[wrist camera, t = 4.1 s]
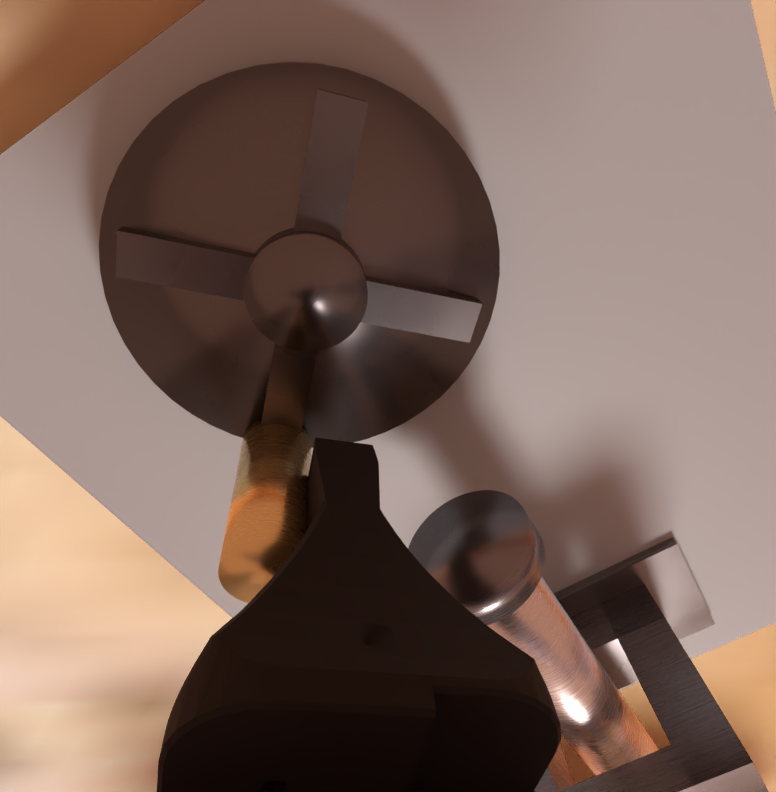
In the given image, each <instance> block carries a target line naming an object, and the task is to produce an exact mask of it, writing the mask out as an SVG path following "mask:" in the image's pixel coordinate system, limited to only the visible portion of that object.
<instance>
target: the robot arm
mask: <svg viewBox="0 0 776 792" xmlns="http://www.w3.org/2000/svg"><path fill="white" fill-rule="evenodd" d="M307 517H308V529H307V531H306V533H305V534H304V536H303V537H302V539H301V540H300V542H299V543H298V545H297V546H296V548H295V549H294V551H293V552H292V553H291V555H290V556H289V557H288V559H287V560H286V561H285V562H284V564H283V565H282V566H281V568H280V569H279V570H278V571H277V573H276V574H275V575H274V576H273V577H272V579H271V580H270V581H269V582H268V583H267V584H266V585H265V586H264V587H263V588H262V589H261V590H260V591H259V593H258V594H257V595H256V596H255V597H254V598H253V599H252V600H251V601H250V602H249V603H248V604H247V605H246V606H245V607H244V608H243V609H242V610H241V611H240V612H239V613H238V614H237V615H235V616H234V617H233V618H232V619H231V620H230V621H229V622H227V623H226V624H225V625H224V626H223V627H222V628H221V629H219V630H218V631H217V632H216V633H215V634H214V635H212V636H211V637H210V639H209V641H208V643H207V644H206V646H205V647H204V649H203V651H202V652H201V654H200V656H199V657H198V659H197V661H196V662H195V664H194V666H193V668H192V669H191V671H190V673H189V675H188V677H187V678H186V680H185V682H184V684H183V686H182V688H181V690H180V692H179V694H178V697H177V699H176V701H175V703H174V706H173V708H172V711H171V714H170V717H169V719H168V723H167V727H166V731H165V735H164V740H163V744H162V749H161V753H160V758H159V765H158V782H157V792H535V788H536V787H537V785H538V783H539V781H540V780H541V778H542V776H543V774H544V773H545V771H546V769H547V767H548V766H549V764H550V762H551V761H552V759H553V757H554V755H555V754H556V752H557V749H558V746H559V743H560V741H561V724H560V721H559V718H558V715H557V712H556V709H555V706H554V703H553V701H552V698H551V695H550V693H549V690H548V688H547V686H546V683H545V681H544V679H543V677H542V675H541V673H540V671H539V669H538V667H537V664H536V662H535V660H534V658H532V657H531V656H529V655H528V654H526V653H525V652H524V651H522V650H521V649H519V648H518V647H516V646H515V645H514V644H512V643H511V642H509V641H508V640H506V639H505V638H504V637H502V636H501V635H499V634H498V633H496V632H495V631H494V630H492V629H491V628H490V627H488V626H487V625H486V624H485V623H483V622H482V621H481V620H480V619H479V618H477V617H476V616H475V615H474V614H472V613H471V612H470V611H469V610H468V609H466V608H465V607H464V606H463V605H462V604H461V603H460V602H458V601H457V600H456V599H455V598H454V597H453V596H452V595H451V594H450V593H449V592H448V591H447V590H446V589H445V588H444V587H443V586H442V585H441V584H440V583H439V582H437V581H436V580H435V579H434V578H433V577H432V576H431V575H430V574H429V572H428V571H427V570H426V569H425V568H424V567H423V566H422V565H421V564H420V563H419V561H418V560H417V559H416V558H415V557H414V556H413V554H412V553H411V552H410V551H409V549H408V548H407V547H406V546H405V544H404V543H403V542H402V540H401V539H400V538H399V536H398V535H397V534H396V532H395V531H394V529H393V528H392V526H391V525H390V523H389V522H388V520H387V519H386V517H385V516H384V514H383V513H382V511H381V510H380V488H379V462H378V459H377V456H376V452H375V450H374V447H373V445H369V444H362V443H354V442H346V441H339V440H331V439H323V438H316V437H315V442H314V447H313V452H312V458H311V463H310V469H309V474H308V491H307Z"/></svg>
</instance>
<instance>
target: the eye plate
mask: <svg viewBox="0 0 776 792" xmlns="http://www.w3.org/2000/svg"><path fill="white" fill-rule="evenodd" d="M553 594H554V595H555V597H556V598H557V600H558V601H559V603H560V604H561V606H562V607H563V609H564V610H565V612H566V613H567V614H568V616H569V617H570V619H571V620H572V622H573V623H574V625H575V626H576V628H577V629H578V631H579V632H580V634H581V635H582V637H583V638H584V640H585V641H586V643H587V644H588V646H589V647H590V649H591V650H592V652H593V653H594V655H595V656H596V657H597V659H598V660H599V662H600V663H601V665H602V666H603V668H604V669H605V671H606V672H607V674H608V675H609V677H610V678H611V680H612V681H613V683H614V684H615V686H616V687H617V689H618V690H619V689H621V688H623V687H626V686H628V685H630V684H633V683H635V682H637V681H639V682H640V684H641V686H642V688H643V690H644V692H645V694H646V696H647V698H648V700H649V702H650V704H651V706H652V708H653V710H654V712H655V714H656V716H657V718H658V720H659V722H660V724H661V726H662V728H663V730H664V731H665V733H666V735H667V737H668V739H669V741H670V743H671V745H670V746H667V747H665V748H662V749H660V750H657V751H655V752H653V753H650V754H648V755H645V756H643V757H640V758H638V759H636V760H633V761H631V762H628V763H626V764H623V765H621V766H618V767H616V768H614V769H611V770H609V771H606V772H604V773H601V774H599V775H596V776H594V777H592V778H589V779H587V780H584V781H582V782H579V783H577V784H574V783H573V780H572V777H571V774H570V771H569V768H568V766H567V763H566V760H565V757H564V754H563V751H562V748H561V745H560V743H559V746H558V749H557V752H556V754H555V755H554V757H553V759H552V761H551V762H550V764H549V766H548V767H547V769H546V771H545V773H544V774H543V776H542V778H541V780H540V781H539V783H538V785H537V787H536V788H535V792H768V790H767V788H766V786H765V784H764V783H763V781H762V779H761V777H760V775H759V773H758V771H757V769H756V767H755V765H754V763H753V762H752V760H751V758H750V757H749V755H748V753H747V752H746V750H745V749H744V747H743V745H742V744H741V742H740V740H739V739H738V737H737V735H736V734H735V732H734V730H733V729H732V727H731V725H730V724H729V722H728V721H727V719H726V717H725V716H724V714H723V712H722V711H721V709H720V707H719V706H718V704H717V702H716V701H715V699H714V697H713V696H712V694H711V693H710V691H709V689H708V688H707V686H706V684H705V683H704V681H703V679H702V678H701V676H700V674H699V673H698V671H697V669H696V668H695V666H694V665H693V663H692V661H691V660H690V658H689V656H688V655H687V653H686V651H685V650H684V648H683V646H682V645H681V643H680V641H679V640H680V639H683V638H685V637H687V636H689V635H692V634H694V633H696V632H698V631H701V630H703V629H705V628H707V627H710V626H712V625H714V624H715V622H714V620H713V618H712V616H711V614H710V612H709V610H708V608H707V605H706V603H705V601H704V599H703V597H702V595H701V593H700V591H699V589H698V586H697V584H696V582H695V580H694V578H693V576H692V574H691V572H690V570H689V567H688V565H687V563H686V561H685V559H684V557H683V555H682V553H681V551H680V549H679V546H678V544H677V543H676V541H675V540H674V539H673V537H671V538H669V539H667V540H665V541H663V542H661V543H659V544H657V545H655V546H652V547H650V548H648V549H646V550H644V551H642V552H640V553H638V554H636V555H633V556H631V557H629V558H627V559H625V560H623V561H621V562H619V563H617V564H615V565H612V566H610V567H608V568H606V569H604V570H602V571H600V572H598V573H596V574H593V575H591V576H589V577H587V578H585V579H583V580H581V581H579V582H577V583H574V584H572V585H570V586H568V587H566V588H564V589H562V590H560V591H558V592H556V593H553Z"/></svg>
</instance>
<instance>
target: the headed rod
mask: <svg viewBox="0 0 776 792" xmlns="http://www.w3.org/2000/svg"><path fill="white" fill-rule="evenodd" d="M408 549H409V551H410V552H411V553H412V554H413V556H414V557H415V558H416V559H417V560H418V561H419V563H420V564H421V565H422V566H423V567H424V568H425V569H426V570H427V571H428V572H429V574H430V575H431V576H432V577H433V578H434V579H435V580H436V581H437V582H439V583H440V584H441V585H442V586H443V587H444V588H445V589H446V590H447V591H448V592H449V593H450V594H451V595H452V596H453V597H454V598H455V599H456V600H457V601H458V602H460V603H461V604H462V605H463V606H464V607H465V608H466V609H468V610H469V611H470V612H471V613H472V614H474V615H475V616H476V617H477V618H479V619H480V620H481V621H482V622H483V623H485V624H486V625H487V626H488V627H490V628H491V629H492V630H494V631H495V632H496V633H498V634H499V635H501V636H502V637H504V638H505V639H506V640H508V641H509V642H511V643H512V644H514V645H515V646H516V647H518V648H519V649H521V650H522V651H524V652H525V653H526V654H528V655H529V656H531V657H532V658H534V660H535V662H536V664H537V667H538V669H539V671H540V673H541V675H542V677H543V679H544V681H545V683H546V686H547V688H548V690H549V693H550V695H551V698H552V701H553V703H554V706H555V709H556V712H557V715H558V718H559V721H560V724H561V734H562V735H563V736H564V737H565V739H566V740H567V741H568V742H569V744H570V745H571V746H572V747H573V748H574V750H575V751H576V752H577V753H578V755H579V756H580V757H581V758H582V759H583V761H584V762H585V763H586V764H587V766H588V767H589V768H590V769H591V770H592V772H593V773H594V774H595V775H599V774H601V773H604V772H606V771H609V770H611V769H614V768H616V767H618V766H621V765H623V764H626V763H628V762H631V761H633V760H636V759H638V758H640V757H643V756H645V755H648V754H650V753H653V752H655V751H657V750H659V749H658V748H657V746H656V745H655V743H654V742H653V741H652V739H651V738H650V736H649V735H648V733H647V732H646V730H645V729H644V727H643V726H642V724H641V723H640V721H639V720H638V718H637V717H636V715H635V714H634V712H633V711H632V709H631V708H630V706H629V705H628V703H627V702H626V700H625V699H624V698H623V696H622V695H621V693H620V692H619V690H618V689H617V687H616V686H615V684H614V683H613V681H612V680H611V678H610V677H609V675H608V674H607V672H606V671H605V669H604V668H603V666H602V665H601V663H600V662H599V660H598V659H597V657H596V656H595V655H594V653H593V652H592V650H591V649H590V647H589V646H588V644H587V643H586V641H585V640H584V638H583V637H582V635H581V634H580V632H579V631H578V629H577V628H576V626H575V625H574V623H573V622H572V620H571V619H570V617H569V616H568V614H567V613H566V612H565V610H564V609H563V607H562V606H561V604H560V603H559V601H558V600H557V598H556V597H555V595H554V594H553V592H552V591H551V589H550V588H549V586H548V585H547V583H546V582H545V580H544V579H543V577H542V574H543V570H544V567H545V559H546V556H545V546H544V542H543V539H542V537H541V535H540V533H539V532H538V530H537V529H536V527H535V525H534V524H533V522H532V521H531V519H530V518H529V516H528V515H527V513H526V511H525V510H524V508H523V507H522V505H521V504H520V503H519V502H518V501H517V500H516V499H515V498H513V497H512V496H510V495H508V494H506V493H503V492H499V491H494V490H479V491H473V492H469V493H466V494H463V495H460V496H458V497H455V498H453V499H451V500H450V501H448V502H446V503H444V504H443V505H442V506H440V507H439V508H437V509H436V510H435V511H434V512H433V513H431V514H430V515H429V516H428V517H427V518H426V519H425V521H424V522H423V523H422V524H421V525H420V527H419V528H418V530H417V531H416V533H415V534H414V536H413V538H412V540H411V542H410V544H409V547H408Z"/></svg>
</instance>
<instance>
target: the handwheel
mask: <svg viewBox="0 0 776 792" xmlns="http://www.w3.org/2000/svg"><path fill="white" fill-rule="evenodd" d="M99 260H100V274H101V279H102V284H103V289H104V294H105V298H106V301H107V304H108V307H109V310H110V313H111V316H112V319H113V322H114V324H115V326H116V328H117V330H118V332H119V334H120V336H121V338H122V340H123V342H124V344H125V345H126V347H127V348H128V350H129V351H130V353H131V355H132V356H133V358H134V359H135V361H136V362H137V364H138V365H139V366H140V367H141V369H142V370H143V371H144V372H145V373H146V374H147V376H148V377H149V378H150V379H151V380H152V381H153V383H154V384H155V385H156V386H158V387H159V388H160V389H161V390H162V391H163V392H164V393H165V394H166V395H167V396H168V397H169V398H170V399H172V400H173V401H174V402H176V403H177V404H178V405H180V406H181V407H182V408H184V409H185V410H186V411H188V412H189V413H191V414H192V415H194V416H196V417H197V418H199V419H201V420H203V421H204V422H206V423H208V424H210V425H211V426H214V427H216V428H218V429H221V430H223V431H225V432H227V433H230V434H232V435H235V436H238V437H241V438H243V441H242V447H241V452H240V457H239V463H238V468H237V473H236V478H235V484H234V489H233V494H232V500H231V505H230V510H229V515H228V521H227V526H226V531H225V537H224V542H223V547H222V552H221V558H220V563H219V568H218V576H219V580H220V583H221V585H222V586H223V588H224V589H225V590H226V591H227V592H228V593H229V594H230V595H232V596H233V597H235V598H236V599H239V600H241V601H243V602H246V603H249V602H250V601H251V600H252V599H253V598H254V597H255V596H256V595H257V594H258V593H259V591H260V590H261V589H262V588H263V587H264V586H265V585H266V584H267V583H268V582H269V581H270V580H271V579H272V577H273V576H274V575H275V574H276V573H277V571H278V570H279V569H280V568H281V566H282V565H283V564H284V562H285V561H286V560H287V559H288V557H289V556H290V555H291V553H292V552H293V551H294V549H295V548H296V546H297V545H298V543H299V542H300V540H301V539H302V537H303V536H304V534H305V533H306V531H307V529H308V517H307V491H308V474H309V469H310V463H311V454H312V448H313V447H314V442H315V437H316V438H323V439H331V440H339V441H346V442H357V441H361V440H366V439H368V438H371V437H374V436H377V435H379V434H382V433H385V432H387V431H389V430H391V429H393V428H395V427H397V426H399V425H401V424H403V423H405V422H407V421H409V420H410V419H412V418H413V417H415V416H416V415H418V414H419V413H421V412H423V411H424V410H425V409H427V408H428V407H429V406H430V405H431V404H433V403H434V402H435V401H436V400H438V399H439V398H440V397H441V396H442V395H443V394H444V393H445V392H446V391H447V390H448V389H449V388H450V387H451V386H452V385H453V384H454V383H455V382H456V381H457V379H458V378H459V377H460V375H461V374H462V373H463V371H464V370H465V369H466V367H467V366H468V365H469V363H470V362H471V360H472V358H473V356H474V355H475V353H476V351H477V349H478V348H479V346H480V344H481V342H482V340H483V338H484V335H485V333H486V330H487V328H488V326H489V323H490V320H491V317H492V313H493V309H494V306H495V302H496V298H497V290H498V283H499V276H500V249H499V242H498V234H497V226H496V222H495V219H494V215H493V211H492V207H491V204H490V200H489V198H488V196H487V193H486V191H485V188H484V186H483V184H482V181H481V179H480V177H479V175H478V173H477V171H476V170H475V168H474V166H473V165H472V163H471V161H470V160H469V158H468V156H467V155H466V153H465V152H464V150H463V149H462V148H461V147H460V145H459V144H458V143H457V142H456V140H455V139H454V138H453V137H452V135H451V134H450V133H449V132H448V130H447V129H446V128H444V127H443V126H442V125H441V124H440V123H439V122H438V121H437V120H436V119H435V118H434V117H433V116H432V115H431V114H430V113H429V112H428V111H426V110H425V109H424V108H422V107H421V106H419V105H418V104H417V103H415V102H414V101H412V100H411V99H410V98H408V97H407V96H405V95H404V94H402V93H401V92H399V91H397V90H395V89H393V88H391V87H389V86H388V85H386V84H384V83H382V82H380V81H378V80H376V79H374V78H372V77H369V76H366V75H363V74H360V73H358V72H355V71H352V70H349V69H346V68H341V67H336V66H331V65H326V64H321V63H311V62H289V61H288V62H278V63H268V64H259V65H255V66H252V67H248V68H244V69H240V70H236V71H232V72H229V73H226V74H224V75H221V76H219V77H217V78H214V79H212V80H210V81H207V82H205V83H203V84H200V85H198V86H196V87H195V88H193V89H192V90H190V91H189V92H187V93H185V94H184V95H182V96H181V97H179V98H177V99H176V100H174V101H173V102H172V103H170V104H169V105H168V106H167V107H166V108H165V109H164V110H162V111H161V112H160V113H159V114H158V115H157V116H155V117H154V118H153V119H152V120H151V121H150V122H149V123H148V125H147V126H146V127H145V128H144V129H143V131H142V132H141V133H140V134H139V135H138V137H137V138H136V139H135V140H134V141H133V143H132V144H131V146H130V148H129V149H128V151H127V152H126V154H125V156H124V157H123V159H122V161H121V162H120V164H119V166H118V168H117V170H116V173H115V175H114V178H113V180H112V182H111V185H110V187H109V190H108V192H107V196H106V200H105V205H104V209H103V213H102V217H101V225H100V236H99Z"/></svg>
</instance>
